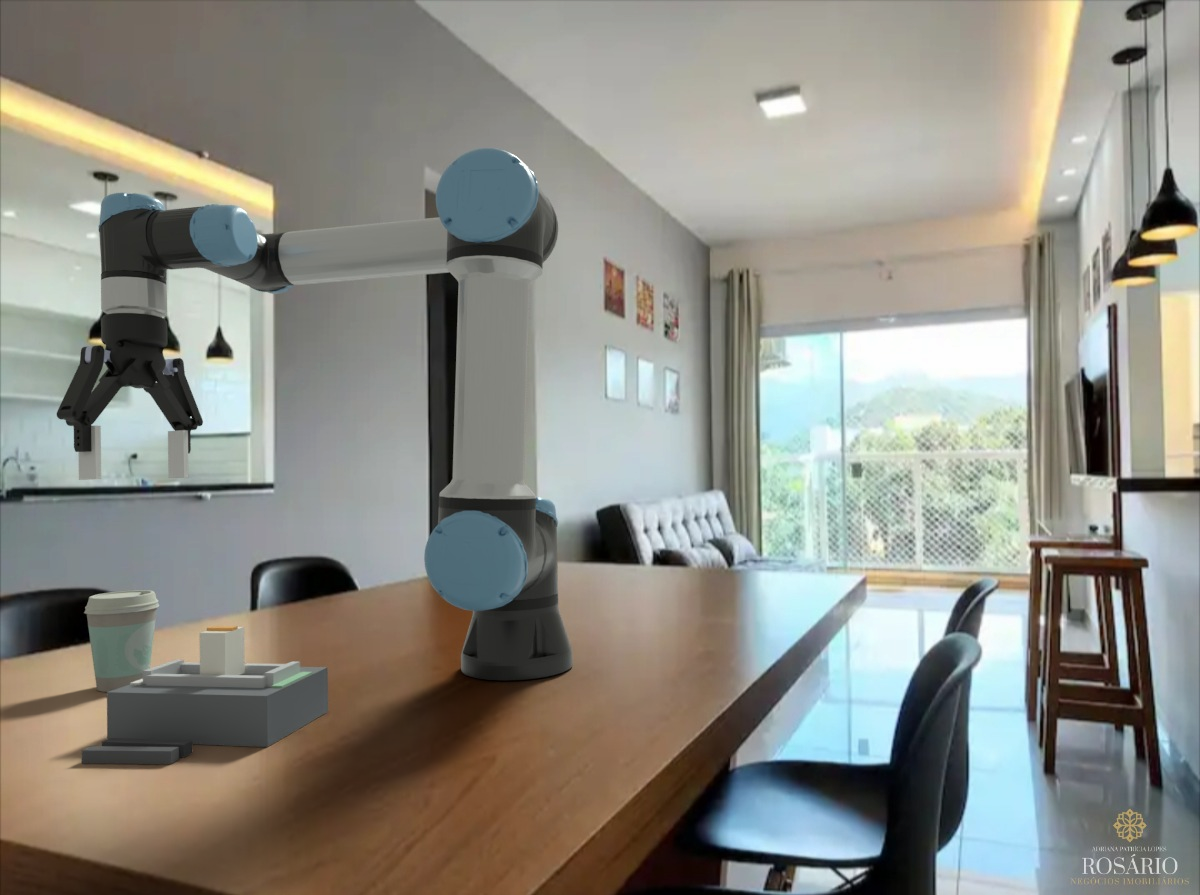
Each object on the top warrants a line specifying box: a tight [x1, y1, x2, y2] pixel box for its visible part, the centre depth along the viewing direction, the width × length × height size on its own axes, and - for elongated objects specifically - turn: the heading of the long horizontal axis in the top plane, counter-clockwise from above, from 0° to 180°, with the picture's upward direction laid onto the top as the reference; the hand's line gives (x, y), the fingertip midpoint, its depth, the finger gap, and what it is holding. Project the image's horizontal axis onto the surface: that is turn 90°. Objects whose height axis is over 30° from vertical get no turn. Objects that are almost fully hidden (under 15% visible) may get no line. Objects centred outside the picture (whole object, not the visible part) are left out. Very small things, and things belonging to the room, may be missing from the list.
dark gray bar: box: [81, 745, 180, 765], centre depth 78 cm, size 9×1×1 cm, turn 84°
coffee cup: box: [83, 589, 160, 693], centre depth 107 cm, size 8×8×12 cm
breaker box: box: [106, 659, 329, 748], centre depth 88 cm, size 18×12×6 cm, turn 80°
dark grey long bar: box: [101, 738, 194, 758], centre depth 80 cm, size 9×1×1 cm, turn 80°
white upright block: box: [199, 625, 246, 675], centre depth 89 cm, size 3×3×5 cm
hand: (137, 479), depth 106 cm, fingers open, 13 cm apart
